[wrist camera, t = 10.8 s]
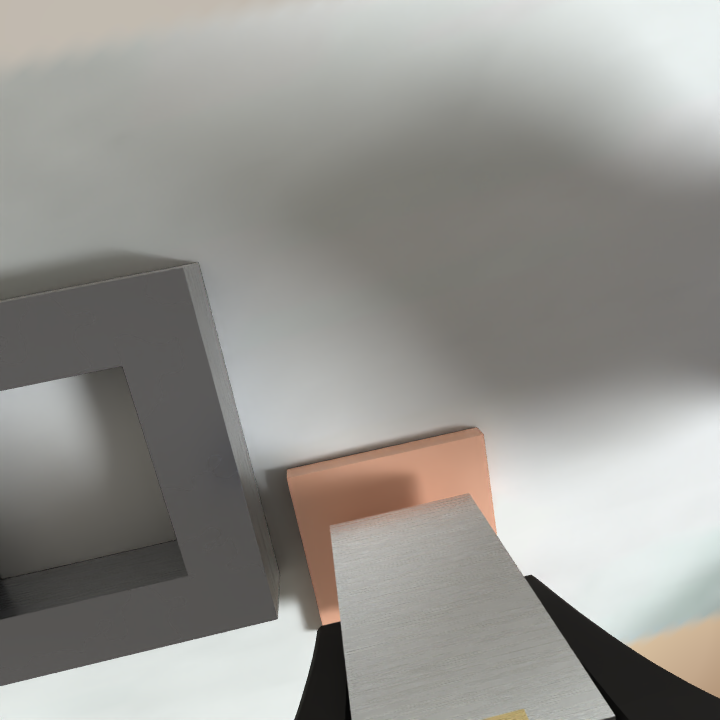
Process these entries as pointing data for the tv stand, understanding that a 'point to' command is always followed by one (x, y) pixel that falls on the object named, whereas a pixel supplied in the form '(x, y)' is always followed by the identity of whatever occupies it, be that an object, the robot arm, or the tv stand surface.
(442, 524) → the steel key
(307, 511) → the terracotta pad
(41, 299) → the charcoal socket
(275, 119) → the tv stand surface
